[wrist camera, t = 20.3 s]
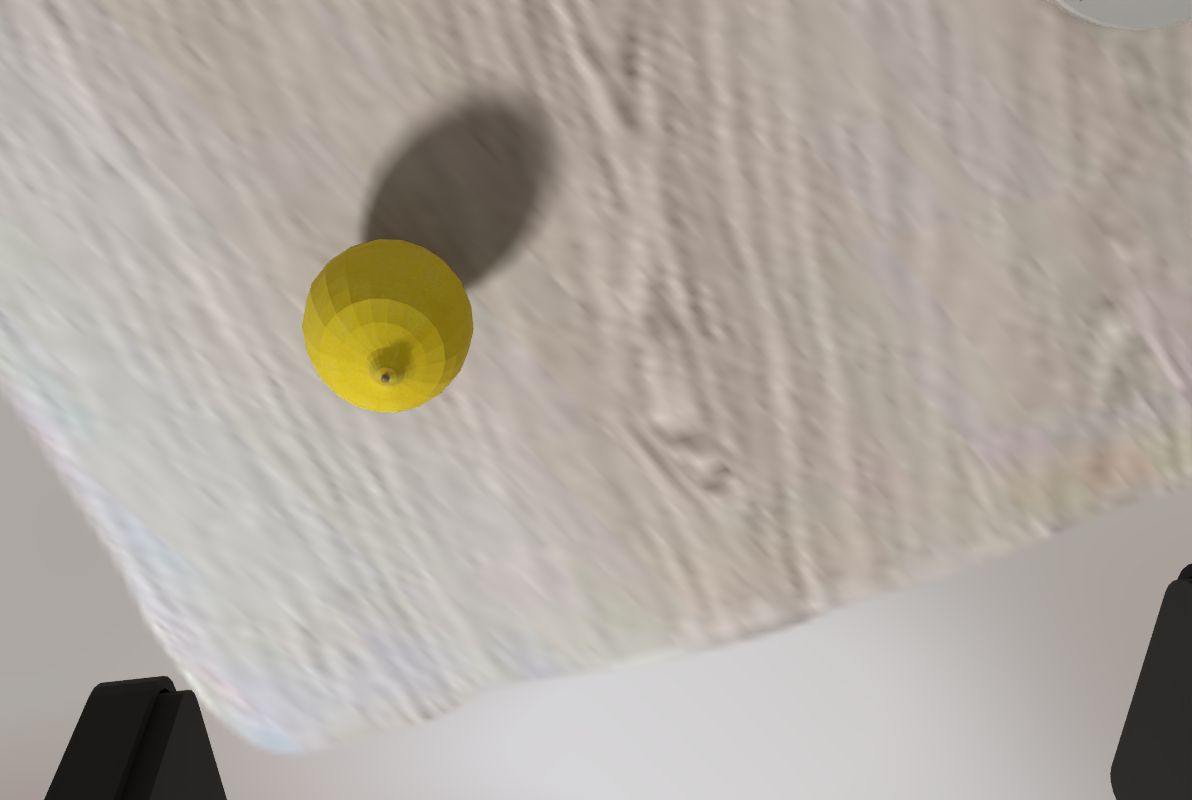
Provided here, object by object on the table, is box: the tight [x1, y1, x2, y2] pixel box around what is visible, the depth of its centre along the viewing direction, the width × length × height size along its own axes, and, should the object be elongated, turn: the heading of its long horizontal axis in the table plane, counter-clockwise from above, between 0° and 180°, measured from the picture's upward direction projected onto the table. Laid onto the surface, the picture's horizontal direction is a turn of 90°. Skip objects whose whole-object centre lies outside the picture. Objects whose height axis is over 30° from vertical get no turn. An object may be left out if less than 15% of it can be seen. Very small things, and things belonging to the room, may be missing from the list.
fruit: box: [302, 239, 473, 412], centre depth 33 cm, size 6×6×8 cm
